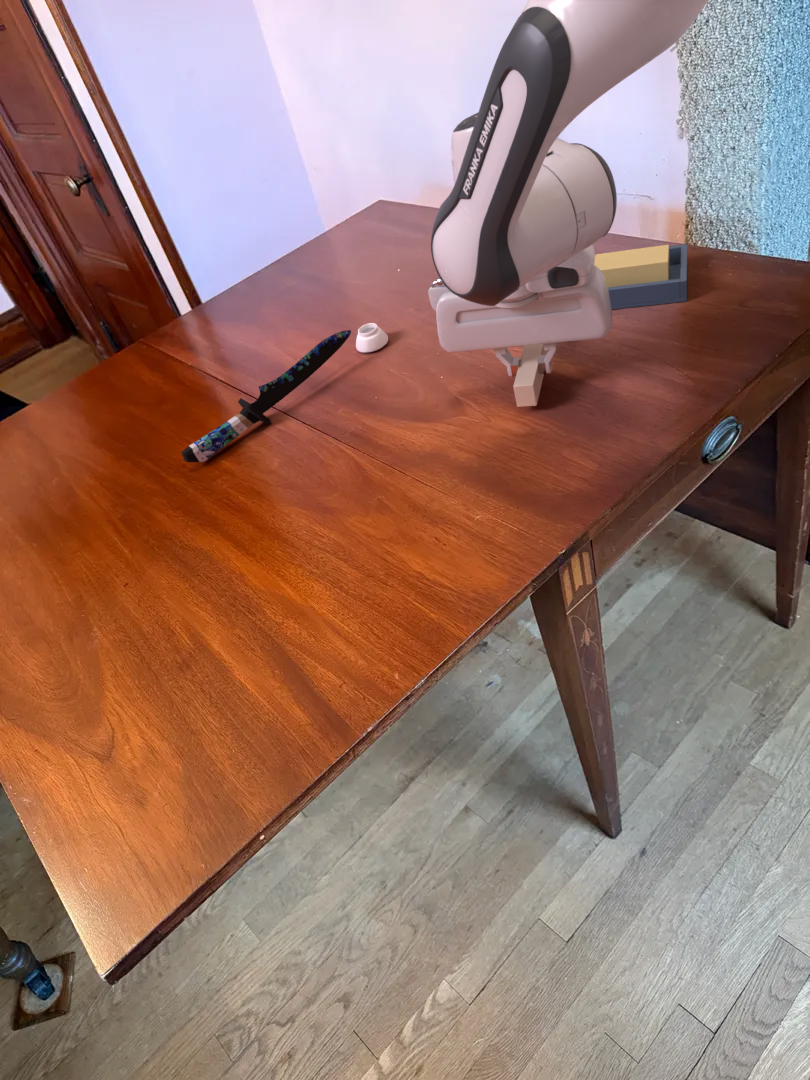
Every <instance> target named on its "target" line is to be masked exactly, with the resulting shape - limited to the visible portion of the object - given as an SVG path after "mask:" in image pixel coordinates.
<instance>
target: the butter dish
mask: <svg viewBox="0 0 810 1080" xmlns="http://www.w3.org/2000/svg"><path fill="white" fill-rule="evenodd" d="M669 263H670V276H669V280H665V281H657V282H648V283H640V284H632V285H623V286H615V287H607V288H608V292H609V296H610V302H611V308H612V310H619V309H628V308H629V309H631V308H639V307H649V306H656V305H667V304H676V303H685V302H688V244H687V243H682V244H675V245H669Z"/></svg>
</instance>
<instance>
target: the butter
mask: <svg viewBox="0 0 810 1080" xmlns="http://www.w3.org/2000/svg"><path fill="white" fill-rule="evenodd" d="M669 246H670V244H662V245H655V246H647V247H641V248H632V249H625V250H618V251H610V252H603V253H597V254H596V253H595V264H594V265H595V266H597V267H598V268H599V269H600V270H601V271H602V273H603V275H604V277H605V280H606V284H607V287H615V286H623V285H632V284H640V283H648V282H657V281H665V280H669V276H670V263H669Z"/></svg>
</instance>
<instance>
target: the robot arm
mask: <svg viewBox="0 0 810 1080" xmlns="http://www.w3.org/2000/svg"><path fill="white" fill-rule="evenodd" d="M708 2H709V0H527V3H526V5H525V6H524V8H523V10H522V12H521V14H520V15H519V16H518V18H517V19H516V20H515V23H514V25H512V27H511V30H510V31H509V33H508V35H507V37H506V38H505V41H504V43H503V44H502V47H501V49H500V51H499V52H498V55H497V58H496V60H495V63H494V65H493V68H492V71H491V73H490V75H489V76H490V77H489V79H488V82H487V85H486V87H485V91H484V94H483V97H482V101H481V103H480V106H479V109H478V112H476V113H474V114H472V115H470V116H468V117H466V118H464V119H463V120H462V121H461V122H459V123H458V124H457V125H456V127H455V128H454V129H453V131H452V133H451V137H450V156H451V157H450V158H451V167H452V168H451V169H452V176H453V183H454V185H453V188H452V189H451V192H450V193H449V195H448V196H447V198H445V200H443V202H442V203H441V205H439V208H438V211H437V213H436V216H435V220H434V222H433V226H432V230H431V231H432V232H431V238H430V252H431V253H430V254H431V258H432V262H433V267H434V268H435V271H436V273H437V275H438V277H436V280H434V281H432V282H431V283H430V285H429V286H428V289H427V295H428V298H429V303H430V306H431V308H432V309H433V311H435V319H436V329H437V336H438V341H439V345H440V348H441V349H443V350H444V351H445V352H446V353H448V354H454V353H455V354H456V353H467V352H476V351H485V350H487V351H488V350H493V353H494V356H495V358H496V359H498V360H499V361H500V362H501V364H503V366H505V367H506V372H507V376H508V377H509V378H510V377H516V375H517V371H518V368H519V364H520V360H521V357H520V356H518V357H517V356H514V355H512V353H511V352H510V350H509V349H508V348H517V347H524V346H528V345H539V344H543V345H544V350H545V351H547V352H546V354H545V355H539V357H538V361H537V366H538V369H539V374H544V375H546V374H547V375H549V374H552V371H553V360H552V359H553V357H554V355H555V353H556V351H557V347H558V344H559V343H569V342H578V341H579V342H580V341H590V340H601V339H604V338H605V337H606V336H608V334H609V333H610V331H611V329H612V326H613V309H612V308H611V302H610V296H609V292H608V288H607V284H606V280H605V277H604V275H603V273H602V271H601V270H600V269H599V268H598V267H597V266H595V265H594V264H595V254H596V253H595V252H596V251H595V246H594V244H596V243H597V242H598V241H600V240H601V239H602V238H604V237H606V235H608V233H609V232H610V230H611V228H612V226H613V224H614V220H615V217H616V212H617V204H618V203H617V201H618V197H617V187H616V182H615V179H614V175H613V173H612V170H611V168H610V166H609V164H608V163H607V161H606V160H605V159H604V157H603V156H602V155H600V154H599V153H598V152H597V151H596V150H594V149H593V148H591V147H590V146H587V145H585V144H582V143H580V142H579V143H578V142H575V143H574V142H573V143H572V142H568V141H566V140H564V139H561V138H560V137H559V136H560V135H561V134H562V132H563V131H564V130H565V129H566V128H567V127H569V125H570V124H571V123H572V122H573V121H574V120H575V119H576V118H577V117H578V116H579V115H580V114H582V113H583V112H584V111H585V110H586V109H587V108H589V107H590V106H591V105H592V104H593V103H595V102H596V101H597V100H598V99H600V98H601V97H602V96H603V95H605V94H606V93H607V92H609V91H610V90H611V89H613V88H615V87H616V86H617V85H618V84H620V83H621V82H623V81H624V80H626V79H627V78H628V77H630V76H631V75H633V74H634V73H636V72H637V71H639V70H640V69H642V68H643V67H644V66H646V65H647V64H649V63H650V62H652V61H653V60H654V59H656V58H657V57H659V56H660V55H662V54H663V53H664V52H665V51H668V50H669V49H670V48H671V47H673V45H675V44H676V43H677V42H678V41H679V40H680V39H681V38H682V37H683V36H684V34H685V33H687V31H688V30H689V28H691V26H692V25H693V23H694V22H695V20H696V19H697V17H698V16H699V15H700V13H701V12H702V10H703V9H704V8H705V7H706V5H707V3H708Z"/></svg>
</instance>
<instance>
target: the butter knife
mask: <svg viewBox="0 0 810 1080" xmlns="http://www.w3.org/2000/svg"><path fill="white" fill-rule="evenodd" d="M546 352H547V350H546V351H545V350H544V345H543V344H539V345H528V346H523V349H522V353H521V357H520V359H521V360H520V364H519V368H518V371H517V375H516V376H515V378H514V382H513V386H512V388H513V392H514V399H515V402H516V407H517V408H519V407H520V408H521V407H536V406H537V405H538V401H539V397H540V393H541V388H542V384H543V380H544V376H545V374H539V369H538V366H537V361H538V357H539V355H545V354H546Z"/></svg>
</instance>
